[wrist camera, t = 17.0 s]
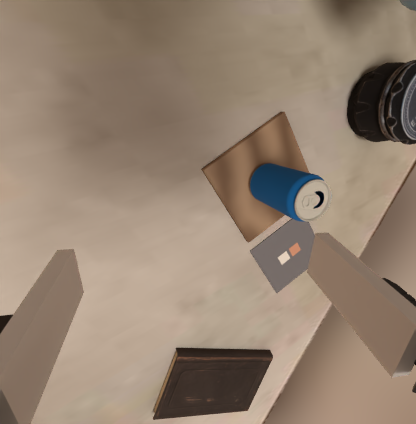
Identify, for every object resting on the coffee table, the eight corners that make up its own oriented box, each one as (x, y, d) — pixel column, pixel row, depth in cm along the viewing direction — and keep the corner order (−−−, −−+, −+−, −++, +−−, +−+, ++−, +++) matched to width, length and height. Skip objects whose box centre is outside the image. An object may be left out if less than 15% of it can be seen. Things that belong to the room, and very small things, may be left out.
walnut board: (280, 112, 42) (284, 111, 41) (312, 189, 49) (316, 190, 48) (201, 169, 40) (203, 170, 39) (246, 240, 47) (248, 242, 47)
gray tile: (303, 210, 50) (303, 210, 50) (323, 255, 55) (323, 255, 55) (249, 251, 48) (250, 251, 48) (276, 293, 54) (276, 293, 54)
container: (380, 148, 51) (436, 153, 42) (333, 131, 46) (385, 133, 37) (407, 80, 48) (474, 70, 39) (360, 54, 43) (424, 36, 34)
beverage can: (280, 197, 46) (331, 220, 35) (247, 203, 44) (291, 229, 33) (282, 160, 43) (337, 173, 33) (247, 165, 42) (294, 179, 31)
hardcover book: (243, 401, 63) (247, 410, 61) (151, 408, 54) (153, 419, 52) (268, 347, 60) (273, 355, 58) (175, 345, 50) (178, 354, 48)
